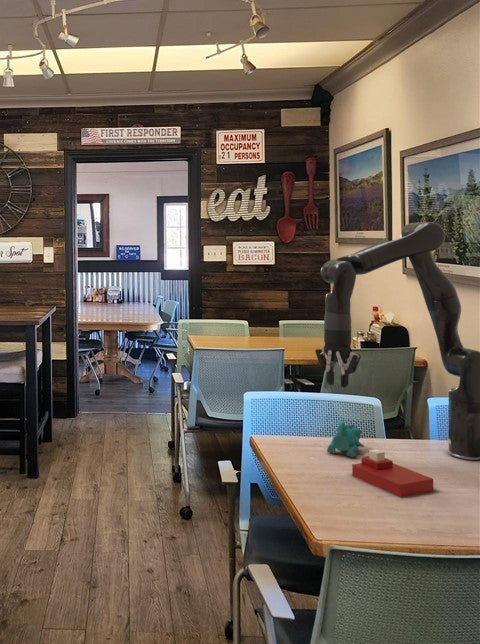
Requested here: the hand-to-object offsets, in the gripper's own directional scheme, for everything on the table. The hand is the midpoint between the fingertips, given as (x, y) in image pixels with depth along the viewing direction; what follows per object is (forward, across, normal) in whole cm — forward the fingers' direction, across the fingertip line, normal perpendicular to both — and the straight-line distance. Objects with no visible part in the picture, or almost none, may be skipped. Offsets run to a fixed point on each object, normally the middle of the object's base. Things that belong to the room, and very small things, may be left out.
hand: (337, 385), depth 182 cm
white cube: (+19, -12, 0) cm, 22 cm away
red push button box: (+23, -17, +2) cm, 29 cm away
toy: (+23, +5, -13) cm, 27 cm away
